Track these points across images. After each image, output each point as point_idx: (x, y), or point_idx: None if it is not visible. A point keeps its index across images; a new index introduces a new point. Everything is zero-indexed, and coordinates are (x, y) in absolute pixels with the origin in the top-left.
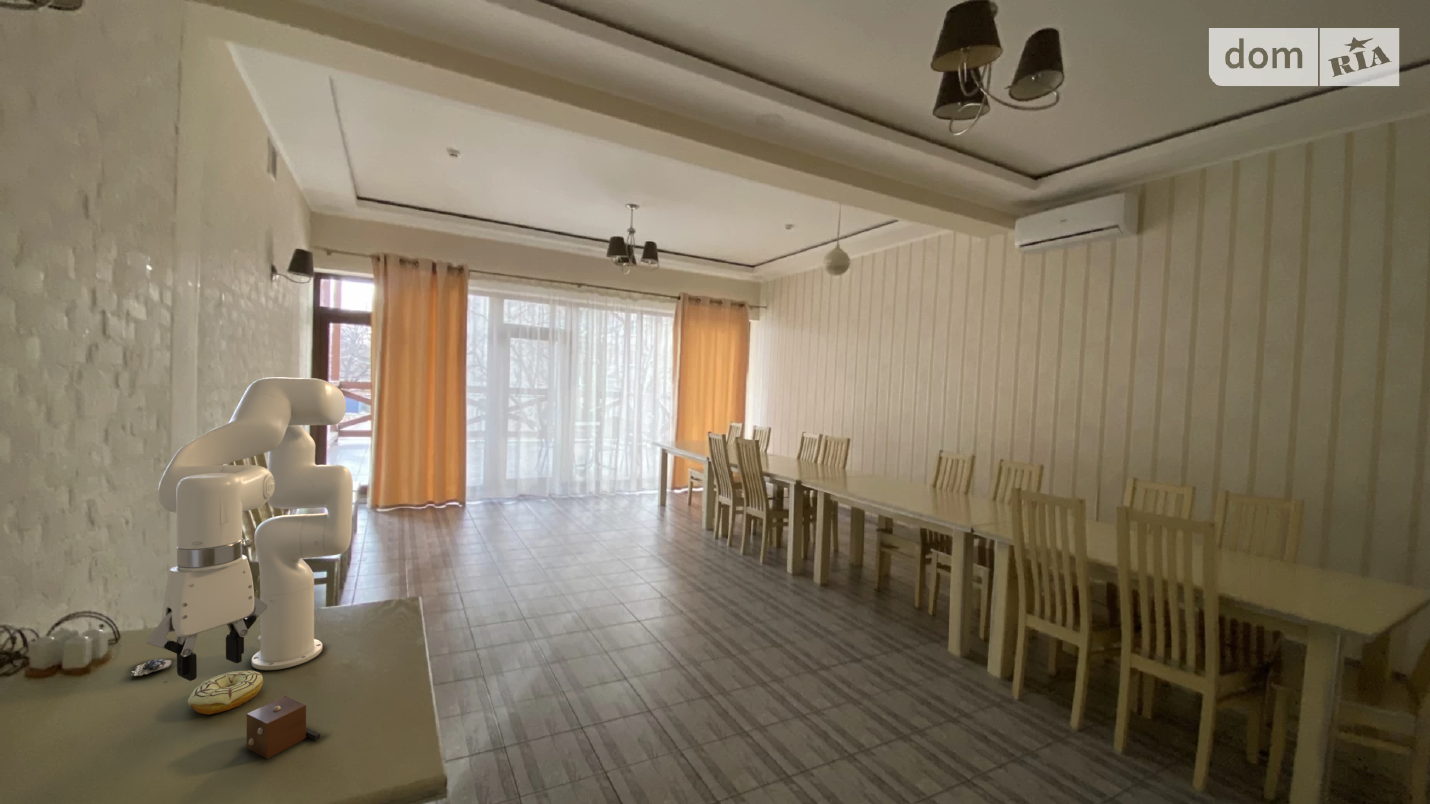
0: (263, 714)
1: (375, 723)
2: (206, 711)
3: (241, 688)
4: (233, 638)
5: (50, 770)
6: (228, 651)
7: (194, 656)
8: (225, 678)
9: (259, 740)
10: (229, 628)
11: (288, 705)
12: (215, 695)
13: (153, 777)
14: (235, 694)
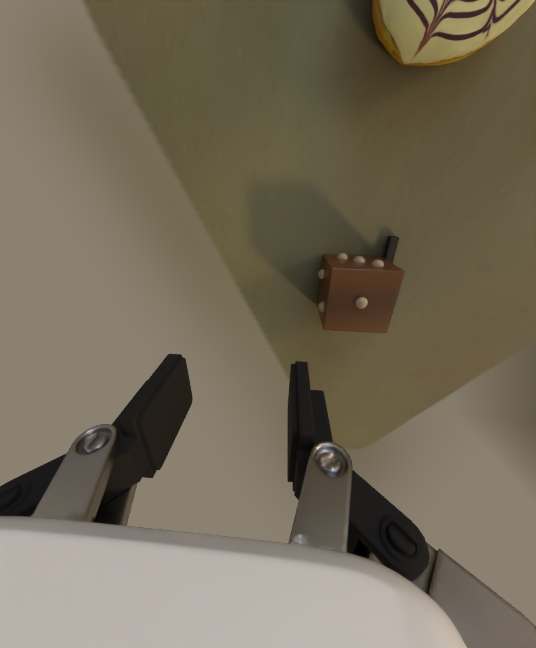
0: (340, 299)
1: (421, 356)
2: (375, 25)
3: (457, 33)
4: (294, 467)
5: None
6: (290, 396)
7: (154, 470)
8: None
9: (321, 295)
10: (304, 481)
11: (376, 309)
12: (408, 3)
13: (227, 202)
14: (432, 49)
